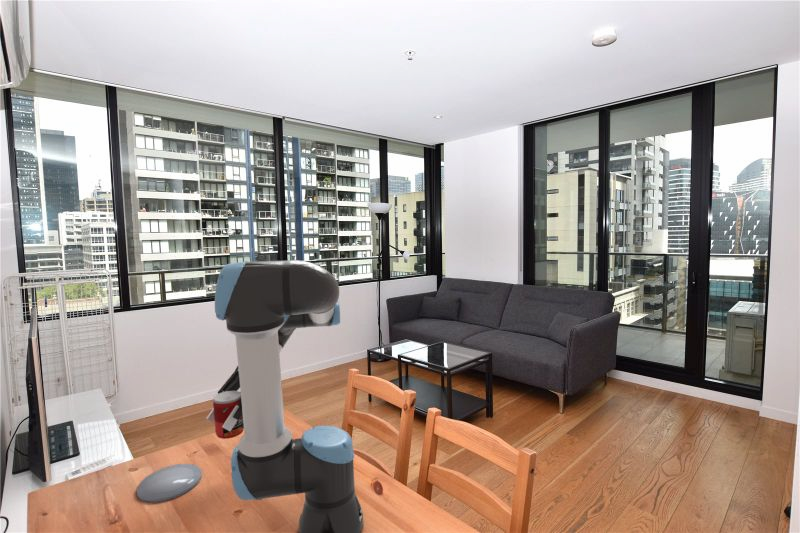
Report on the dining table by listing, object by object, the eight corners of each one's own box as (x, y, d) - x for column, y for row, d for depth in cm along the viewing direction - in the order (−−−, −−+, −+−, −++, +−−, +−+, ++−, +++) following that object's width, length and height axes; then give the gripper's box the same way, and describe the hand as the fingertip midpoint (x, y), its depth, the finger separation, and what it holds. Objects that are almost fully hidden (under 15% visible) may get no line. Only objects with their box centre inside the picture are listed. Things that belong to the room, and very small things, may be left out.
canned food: (225, 442, 115) (222, 403, 114) (210, 434, 120) (207, 397, 119) (249, 430, 121) (247, 394, 120) (234, 423, 126) (232, 388, 125)
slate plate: (210, 481, 118) (210, 478, 118) (147, 511, 107) (147, 507, 106) (189, 460, 129) (188, 457, 129) (129, 485, 117) (129, 481, 117)
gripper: (292, 366, 124) (247, 440, 113) (253, 354, 137) (209, 420, 126) (276, 354, 120) (228, 430, 109) (237, 342, 132) (190, 409, 121)
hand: (218, 424), depth 117 cm, fingers closed on canned food, 8 cm apart
